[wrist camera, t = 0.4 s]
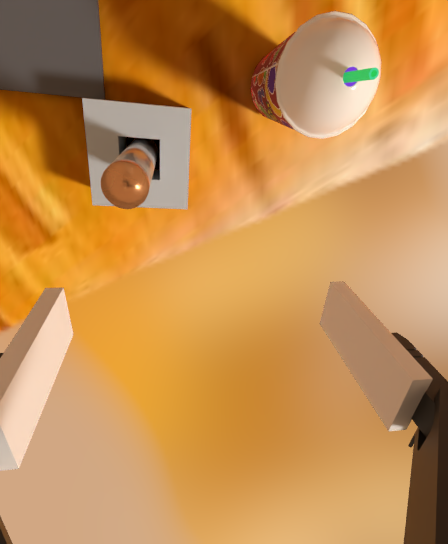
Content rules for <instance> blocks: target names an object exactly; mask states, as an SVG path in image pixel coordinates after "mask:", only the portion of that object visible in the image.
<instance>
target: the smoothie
mask: <svg viewBox="0 0 448 544" xmlns="http://www.w3.org/2000/svg"><path fill="white" fill-rule="evenodd" d="M380 78H381V57H380V53H379V49H378V45H377V43H376V39H375V38H374V36H373V34H372V33H371V31H370V30H369V28H368V27H367V25H366V24H365V23H364V22H362V21H361V20H359V19H358V18H357V17H355V16H354V15H353V14H349V13H344V12H338V11H332V12H328V13H323V14H319V15H316V16H315V17H313V18H312V19H310V20H309V21H307V22H306V23H304V24H303V25H301V26H300V27H299V28H298V30H297V31H296V32H294V33H293V34H292V35H291V36H289V37H288V38H287V39H286V40H284V41H283V42H282V43H281V44H280V45H278V46H277V47H276V48H275V49H273V50H272V51H271V52H270V53H268V54H267V55H266V56H265V57H264V58H262V60H261V61H260V62H259V64H258V65H257V66H256V68H255V71H254V73H253V76H252V79H251V95H252V100H253V102H254V104H255V106H256V108H257V110H258V111H259V112H260V113H261V114H262V115H263V116H265V117H267V118H269V119H271V120H273V121H276V122H278V123H280V124H282V125H285V126H287V127H289V128H292V129H294V130H296V131H298V132H299V133H301V134H303V135H305V136H307V137H312V138H321V139H324V138H328V137H332V136H337V135H339V134H341V133H342V132H344V131H346V130H347V129H349V128H351V127H352V126H353V125H354V124H355V123H356V122H357V121H358V120H359V119H360V118H361V117H362V116H363V115H364V114H365V112H366V110H367V108H368V107H369V105H370V103H371V101H372V99H373V98H374V96H375V94H376V91H377V88H378V84H379V81H380Z"/></svg>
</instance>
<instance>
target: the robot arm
mask: <svg viewBox="0 0 448 544" xmlns="http://www.w3.org/2000/svg"><path fill="white" fill-rule="evenodd" d="M320 325H321V327H322V328H323V330H324V331H325V333H326V335H327V336H328V338H329V339H330V341H331V342H332V344H333V345H334V347H335V348H336V350H337V352H338V353H339V355H340V356H341V358H342V359H343V361H344V362H345V364H346V366H347V367H348V369H349V370H350V372H351V374H352V375H353V377H354V378H355V380H356V381H357V383H358V384H359V386H360V388H361V389H362V391H363V392H364V394H365V395H366V397H367V399H368V400H369V401H370V403H371V405H372V406H373V408H374V409H375V411H376V413H377V414H378V416H379V417H380V419H381V420H382V422H383V423H384V425H385V427H386V428H387V430H388V431H396V430H405V429H407V427H408V425H409V424H410V422H411V420H413V421H414V422H415V424H416V425H417V426H418V428H417V430H416V432H415V434H414V436H413V438H412V440H411V442H410V444H409V447H412V446H413V444H414V449H413V459H412V469H411V478H410V488H409V498H408V507H407V517H406V527H405V537H404V544H448V382H447V380H446V379H445V378H444V377H443V376H442V375H441V374H440V373H439V372H438V371H437V370H436V369H435V368H434V367H433V366H432V365H431V364H430V363H429V361H428V360H427V359H425V358H423V355H422V354H421V353H420V352H419V351H418V350H416V348H415V347H414V346H413V345H412V344H411V343H410V342H409V341H408V340H407V339H406V338H404V337H403V336H401V335H399V334H398V333H391V332H390V331H389V330H388V329H387V328H386V327H385V326H384V325H383V324H382V323H381V322H380V320H379V319H377V317H376V316H375V315H374V314H373V313H372V312H371V311H370V309H368V307H367V306H366V305H365V304H364V303H363V302H362V301H361V300H360V299H359V298H358V296H357V295H356V294H355V293H354V292H353V291H352V290H351V289H350V288H349V286H348V285H347V284H346V283H345V282H330V286H329V289H328V293H327V297H326V301H325V305H324V309H323V313H322V317H321V321H320ZM72 337H73V330H72V326H71V321H70V316H69V312H68V307H67V302H66V298H65V293H64V288H45V290H44V291H43V293H42V294H41V296H40V298H39V299H38V301H37V302H36V304H35V305H34V307H33V308H32V310H31V312H30V313H29V315H28V316H27V318H26V319H25V321H24V322H23V324H22V325H21V327H20V329H19V330H18V332H17V333H16V335H15V337H14V338H13V340H12V341H11V343H10V344H9V346H8V347H7V349H6V350H5V352H4V353H0V471H1V470H10V469H19V467H20V464H21V462H22V459H23V457H24V455H25V452H26V450H27V447H28V445H29V442H30V440H31V437H32V435H33V433H34V430H35V428H36V425H37V423H38V420H39V418H40V415H41V413H42V410H43V408H44V405H45V403H46V400H47V398H48V396H49V393H50V391H51V388H52V386H53V383H54V381H55V378H56V376H57V373H58V371H59V369H60V366H61V364H62V361H63V358H64V356H65V354H66V351H67V349H68V346H69V344H70V342H71V339H72ZM0 544H12V542H11V539H10V537H9V535H8V533H7V530H6V528H5V526H4V524H3V521H2V519H1V517H0Z"/></svg>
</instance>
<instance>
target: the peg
mask: <svg viewBox="0 0 448 544" xmlns="http://www.w3.org/2000/svg"><path fill="white" fill-rule="evenodd" d="M157 156H158V149H157V146H156V144H155V142H154V141H153V140H151V139H147V138H136V139H134V140H133V141H132V142H131V143H130V145H129V146H128V147H127V148H126V149H125V150H124V151H123V152H122V153H121V154H120V155H119V156H118V157H117V158H116V159H115V160H114V161H113V162H112V163H111V164H110V165H109V166H108V167H107V168H106V169H105V171H104V172H103V174H102V177H101V189H102V192H103V194H104V196H105V197H106V199H107V200H108V201H109V202H110V203H111V204H113V205H114V206H116V207H119V208H123V209H132V208H135V207H138V206H139V205H141V204H142V203H143V202H144V201H145V200H146V198H147V196H148V193H149V189H150V184H151V180H152V176H153V172H154V168H155V164H156V160H157Z"/></svg>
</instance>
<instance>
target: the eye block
mask: <svg viewBox="0 0 448 544" xmlns="http://www.w3.org/2000/svg"><path fill="white" fill-rule="evenodd" d="M82 103H83V113H84V123H85V133H86V143H87V153H88V163H89V173H90V183H91V193H92V203H93V205H103V206H114V205H113V204H111V203H110V202H109V201H108V200H107V199H106V197H105V196H104V194H103V192H102V189H101V177H102V174H103V172H104V171H105V169H106V168H107V167H108V166H109V165H110V164H111V163H112V162H113V161H114V160H115V159H116V158H117V157H118V156H119V155H120V154H121V153H122V152H123V151H124V150H125V149H126V137H135V138H147V139H160V170H158V169H154V172H153V176H152V180H151V184H150V189H149V193H148V196H147V198H146V200H145V201H144V202H143V203H142V204H141V205H139V206H138V207H147V208H170V209H188V183H189V156H190V130H191V109H190V108H185V107H175V106H164V105H154V104H144V103H134V102H124V101H114V100H103V99H91V98H82Z"/></svg>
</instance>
